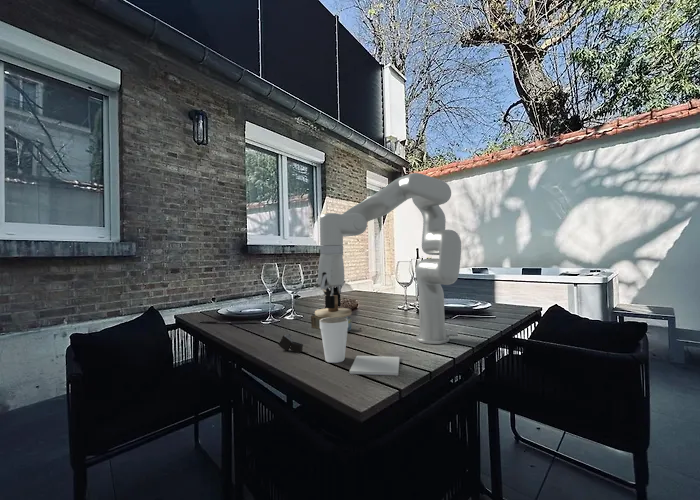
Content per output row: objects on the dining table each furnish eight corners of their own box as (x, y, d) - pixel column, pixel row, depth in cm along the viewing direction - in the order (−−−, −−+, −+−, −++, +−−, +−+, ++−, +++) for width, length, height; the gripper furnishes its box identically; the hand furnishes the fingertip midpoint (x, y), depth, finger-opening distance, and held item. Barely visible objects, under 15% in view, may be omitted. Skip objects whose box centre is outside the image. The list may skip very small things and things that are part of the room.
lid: (354, 310, 114) (353, 293, 114) (348, 317, 103) (347, 298, 103) (320, 310, 116) (319, 293, 116) (310, 317, 105) (310, 298, 105)
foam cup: (350, 355, 114) (349, 316, 114) (347, 364, 104) (346, 323, 104) (323, 355, 115) (322, 317, 115) (317, 364, 105) (316, 323, 105)
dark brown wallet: (299, 357, 121) (306, 345, 120) (295, 359, 119) (303, 347, 117) (281, 343, 123) (288, 330, 122) (277, 344, 121) (284, 332, 120)
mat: (399, 359, 108) (399, 356, 108) (398, 375, 94) (398, 372, 94) (356, 358, 110) (356, 355, 110) (349, 373, 97) (349, 370, 97)
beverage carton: (340, 333, 144) (340, 318, 144) (310, 328, 156) (309, 314, 156) (352, 330, 150) (351, 315, 150) (321, 325, 162) (321, 311, 162)
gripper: (334, 251, 119) (335, 302, 119) (308, 251, 104) (309, 310, 104) (353, 250, 115) (354, 303, 115) (328, 251, 101) (330, 312, 101)
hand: (333, 306), depth 110 cm, fingers closed on lid, 3 cm apart
